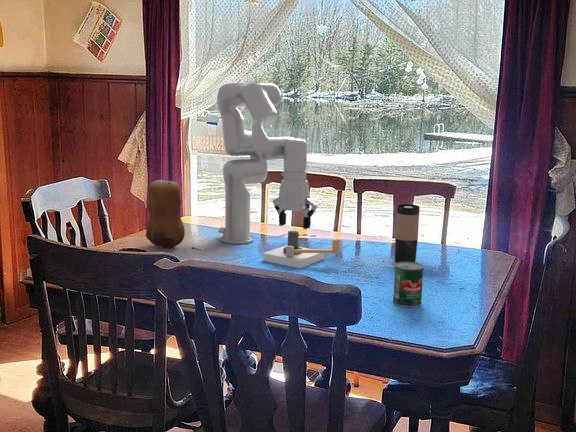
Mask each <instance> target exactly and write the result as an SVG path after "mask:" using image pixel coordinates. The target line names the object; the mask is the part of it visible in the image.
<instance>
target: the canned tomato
mask: <svg viewBox="0 0 576 432" xmlns="http://www.w3.org/2000/svg"><path fill="white" fill-rule="evenodd" d="M424 267H425V266H424V265H423V264H421V263H419V262H398V263H396V262H395V264H394V279H393V296H392V297H393V298H392V302H393V304H394V305H396V306H398V307H404V308H418V307H420V306H421V305H422V299H423V298H422V295H423V293H422V292H423V282H424V281H423V280H424Z"/></svg>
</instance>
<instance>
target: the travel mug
mask: <svg viewBox="0 0 576 432" xmlns="http://www.w3.org/2000/svg"><path fill="white" fill-rule="evenodd" d="M420 208H421V207H420V206H419V205H417V204H409V203H402V204H398V205H397V208H396V209H397V210H396V223H395V240H394V244H395V245H394V263H395V264H396V263H398V262H415V263H417V262H416V260H417V252H418V241H419V240H418V239H419V223H420Z"/></svg>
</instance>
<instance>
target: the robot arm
mask: <svg viewBox="0 0 576 432" xmlns="http://www.w3.org/2000/svg"><path fill="white" fill-rule="evenodd" d="M281 100H282V91H281V90H280V88H279V87H278V85H276V84H275V83H269V82H268V83H267V82H266V83H265V82H251V83H244V82H243V83H241V82H230V83H225V84H223V85H221V86H220V87H219V89H218V91H217V96H216V101H217V103H216V104H217V108H218V111H219V115H220V117H221V122H222V123H221V124H222V134H223V143H224V150H225V152H226V154H227V155H229V156H232V157H239V156H240V157H244V156H249V158H241V159H240V158H238V159H237V158H236V159H231V160H228V161H227V162H225V163H224V165H223V168H222V175H223V182H224V191H225V194H224V195H225V202H224V203H225V210H224V215H225V217H224V218H225V220H224V221H225V223H224V224H225V226H224V227H223V226H220V227H219V229H218V233H220V234H222V236H221V238H220V240H221V242H223V243H226V244H233V245H242V244H249V243H253V241H254V239H255V238H254V236H252V235H251V234H250V233H251V230H250V229H251V195H250V192H249V190H248V189H247V187H246V185H248V184H249V185H251V184H261V183H263V182H265V180H266V179H267V177H268V161H273V160H274V161H275V160H283V171H281V172H280V173H281V174H280V175H281V176H282V177H283V179H281V182H280V186H279V191H278V192H279V193H278V197H277V198H274V199H273V200H272V203H273V206H274V209H275V211H276V212H277V214H278V225H279V226H280V227H281V226H285V225H286V224H287V213H286V211H293V212H301V213H302V214H303V215H304V217H303V220H302V221H303V223H302V226H303V227H302V228H303V230H308V229H310V228H311V222H312V221H311V218H312V217H313V215H314V214H316V210H317V208H318V206H319V205H318V203H316V202H315V201H313V200H312V199H311V194H310V186H309V181H308V180H307V167H308V166H307V164H308V163H307V161H308V160H307V157H308V155H307V154H308V153H307V151H308V142H307V141H306V140H305V139H302V138H296V137H292V136H277V137H276V136H273V137H271V136H270V137H269V136H268V135H267V133H266V132H265V130H266V129H267V128H268V127H271V125H273V124H274V123H275V122H276V120H277V119H278V111H277V109H276V108H275V107H277V106H279V104H280V103H281ZM238 107H246V108H247V110H248V111H249V113H250V115H251V118H252V119H253V121H254V123H253V125H252V129H251V130H247V129H246V123H245V117H244V115H243V113H242V112H241V110H240V109H238Z"/></svg>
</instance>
